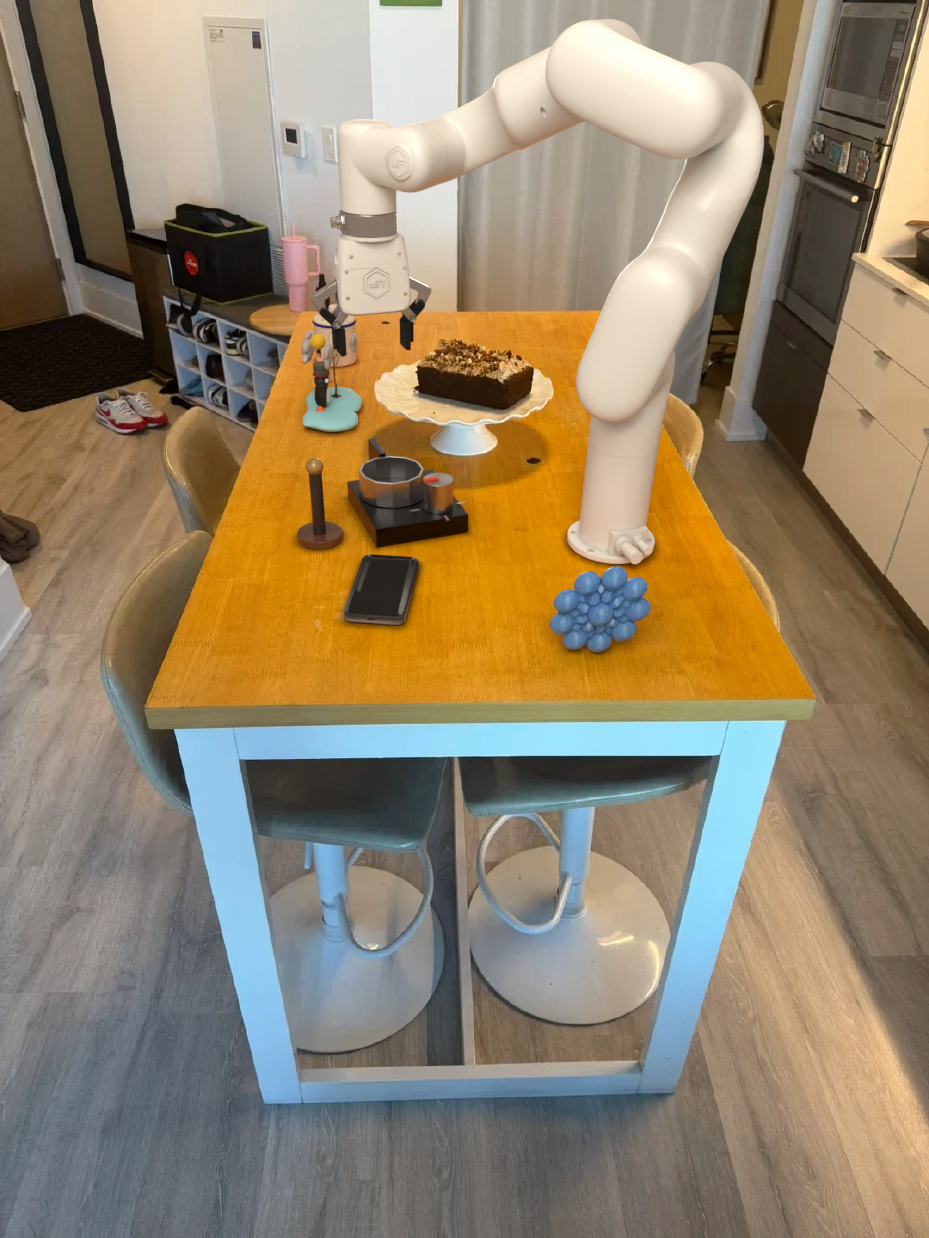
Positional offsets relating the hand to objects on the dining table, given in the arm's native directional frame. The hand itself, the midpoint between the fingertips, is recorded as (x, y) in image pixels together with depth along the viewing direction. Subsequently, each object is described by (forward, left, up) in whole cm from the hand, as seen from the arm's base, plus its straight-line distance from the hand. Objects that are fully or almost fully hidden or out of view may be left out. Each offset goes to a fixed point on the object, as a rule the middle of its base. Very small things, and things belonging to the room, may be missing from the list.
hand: (373, 350), depth 132 cm
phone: (-29, +8, -22) cm, 38 cm away
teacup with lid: (+60, -8, -22) cm, 64 cm away
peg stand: (-13, +13, -22) cm, 29 cm away
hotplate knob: (-14, -5, -19) cm, 24 cm away
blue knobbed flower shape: (-49, -13, -22) cm, 56 cm away
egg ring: (-4, 0, -19) cm, 20 cm away
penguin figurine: (+32, 0, -22) cm, 39 cm away
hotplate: (-10, -1, -22) cm, 24 cm away
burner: (-8, 0, -19) cm, 21 cm away
